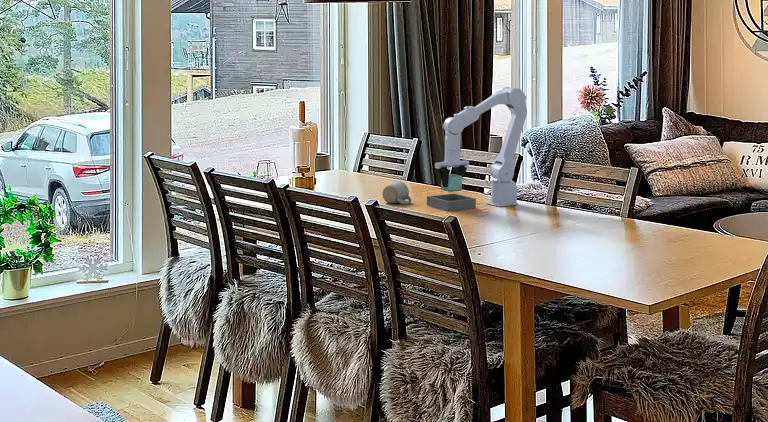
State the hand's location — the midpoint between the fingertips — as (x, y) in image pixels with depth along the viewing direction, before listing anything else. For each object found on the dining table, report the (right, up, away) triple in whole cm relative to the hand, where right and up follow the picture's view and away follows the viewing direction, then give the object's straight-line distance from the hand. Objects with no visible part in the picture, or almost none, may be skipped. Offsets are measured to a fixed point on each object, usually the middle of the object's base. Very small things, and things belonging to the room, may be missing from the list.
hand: (451, 186), depth 351 cm
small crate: (0, -1, 0) cm, 1 cm away
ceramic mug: (-20, -6, +8) cm, 22 cm away
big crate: (0, -7, +1) cm, 8 cm away
